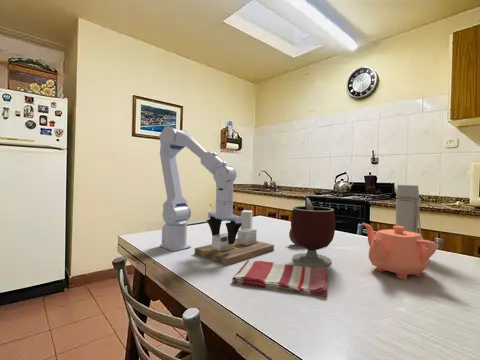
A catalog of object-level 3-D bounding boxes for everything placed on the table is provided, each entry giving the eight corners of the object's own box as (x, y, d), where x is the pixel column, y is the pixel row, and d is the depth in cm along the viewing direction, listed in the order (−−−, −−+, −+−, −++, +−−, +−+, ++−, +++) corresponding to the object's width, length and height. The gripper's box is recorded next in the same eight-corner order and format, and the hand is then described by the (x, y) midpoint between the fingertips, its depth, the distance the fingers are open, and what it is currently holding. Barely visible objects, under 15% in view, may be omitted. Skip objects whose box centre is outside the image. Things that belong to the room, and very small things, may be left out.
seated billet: (237, 249, 98) (237, 230, 98) (248, 246, 102) (248, 228, 102) (245, 251, 95) (245, 232, 95) (256, 248, 100) (256, 229, 99)
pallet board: (194, 253, 91) (194, 247, 91) (242, 242, 109) (242, 236, 109) (227, 265, 80) (227, 258, 80) (273, 250, 98) (274, 244, 98)
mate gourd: (340, 268, 80) (342, 202, 79) (294, 267, 80) (296, 201, 79) (324, 253, 95) (326, 197, 95) (286, 252, 95) (287, 196, 95)
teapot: (372, 278, 72) (374, 229, 72) (360, 260, 88) (361, 219, 88) (441, 286, 68) (443, 233, 68) (415, 265, 84) (416, 223, 84)
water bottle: (389, 250, 101) (391, 184, 101) (404, 249, 103) (406, 184, 103) (411, 257, 92) (413, 185, 92) (427, 255, 95) (430, 185, 94)
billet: (211, 256, 89) (212, 235, 89) (224, 252, 93) (225, 233, 93) (219, 259, 86) (220, 237, 86) (232, 255, 90) (233, 234, 90)
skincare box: (249, 240, 112) (250, 212, 111) (240, 239, 112) (240, 211, 112) (252, 237, 118) (252, 210, 117) (242, 236, 118) (243, 209, 118)
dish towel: (328, 300, 60) (328, 289, 60) (230, 286, 67) (230, 275, 67) (326, 274, 76) (326, 265, 76) (247, 264, 83) (248, 256, 83)
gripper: (201, 200, 92) (200, 239, 92) (231, 204, 82) (230, 248, 82) (216, 199, 97) (215, 236, 97) (246, 202, 87) (245, 244, 87)
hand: (223, 241), depth 90 cm, fingers open, 7 cm apart
